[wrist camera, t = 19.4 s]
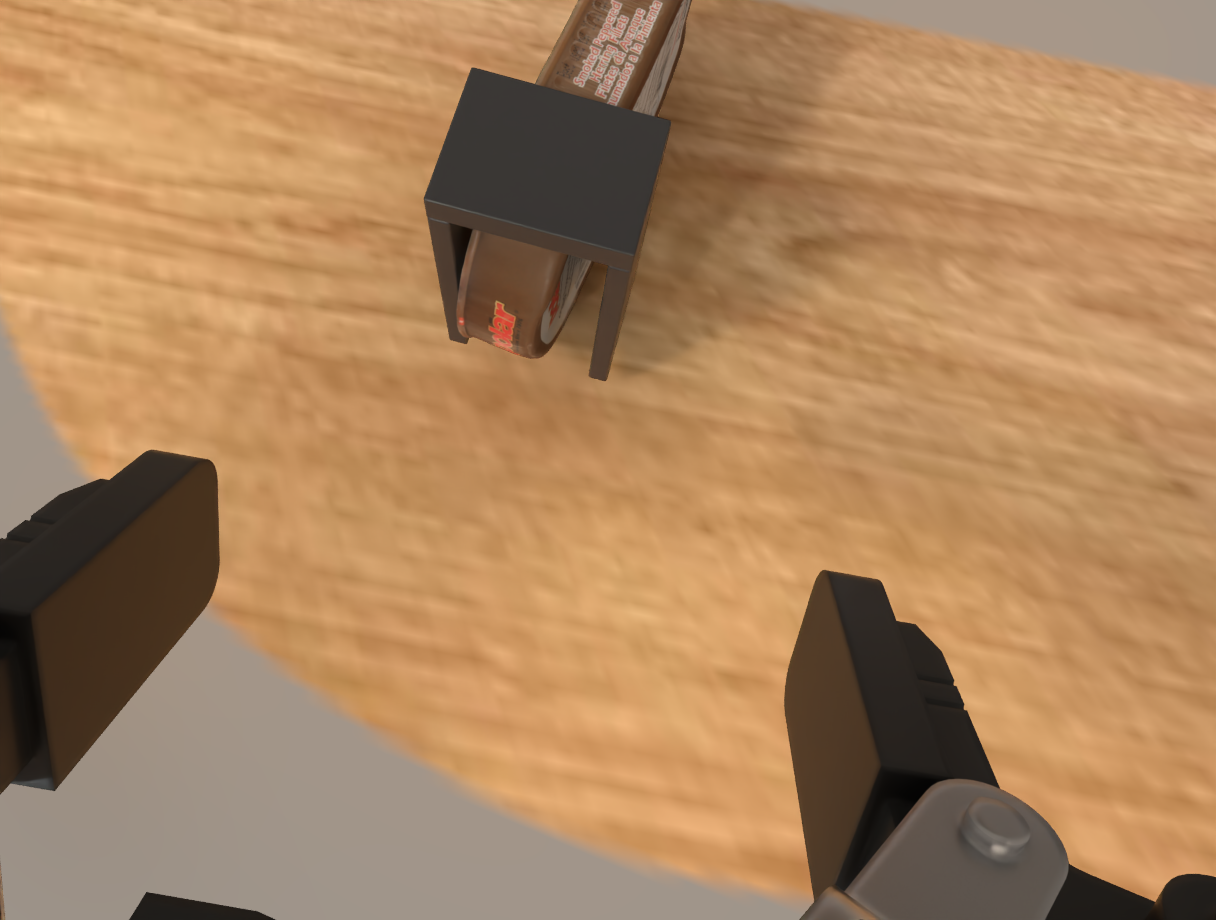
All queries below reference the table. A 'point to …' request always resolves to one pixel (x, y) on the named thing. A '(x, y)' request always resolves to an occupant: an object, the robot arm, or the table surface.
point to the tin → (595, 69)
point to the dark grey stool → (546, 186)
